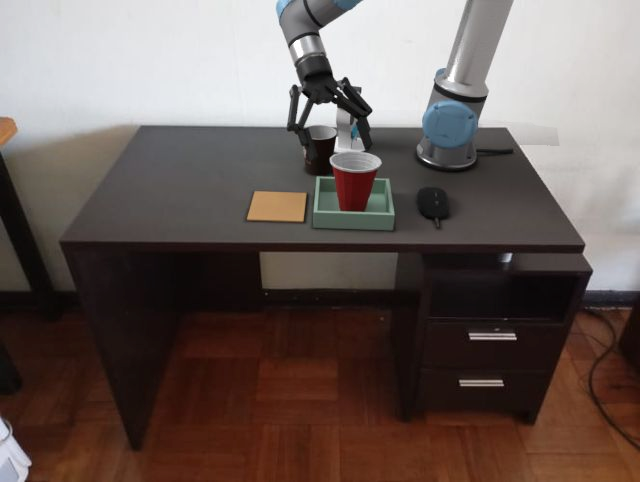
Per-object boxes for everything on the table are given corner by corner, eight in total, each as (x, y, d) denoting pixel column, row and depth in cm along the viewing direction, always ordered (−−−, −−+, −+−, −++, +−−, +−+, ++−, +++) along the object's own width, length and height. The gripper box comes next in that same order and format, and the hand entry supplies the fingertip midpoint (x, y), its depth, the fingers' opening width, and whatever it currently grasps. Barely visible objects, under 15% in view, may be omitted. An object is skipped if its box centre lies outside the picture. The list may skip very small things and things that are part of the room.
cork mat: (306, 194, 116) (306, 192, 116) (303, 222, 106) (303, 221, 106) (254, 192, 116) (254, 191, 116) (246, 220, 107) (246, 219, 106)
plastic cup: (379, 198, 115) (383, 150, 108) (374, 224, 106) (379, 173, 99) (332, 193, 116) (333, 145, 109) (324, 218, 107) (325, 167, 100)
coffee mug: (332, 179, 122) (333, 141, 116) (297, 175, 124) (297, 137, 118) (340, 158, 132) (341, 122, 126) (308, 155, 133) (308, 119, 127)
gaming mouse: (423, 227, 106) (425, 211, 103) (415, 192, 118) (418, 177, 115) (453, 228, 105) (456, 212, 103) (442, 193, 117) (445, 178, 115)
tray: (387, 192, 117) (389, 178, 115) (392, 230, 105) (394, 215, 102) (316, 190, 118) (316, 176, 115) (313, 227, 105) (313, 212, 103)
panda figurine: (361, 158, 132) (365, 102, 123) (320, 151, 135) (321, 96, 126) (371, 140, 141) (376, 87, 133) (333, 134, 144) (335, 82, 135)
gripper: (353, 65, 119) (382, 148, 117) (254, 79, 109) (284, 170, 107) (366, 47, 112) (398, 135, 110) (262, 60, 102) (295, 157, 100)
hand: (342, 153), depth 108 cm, fingers open, 13 cm apart
